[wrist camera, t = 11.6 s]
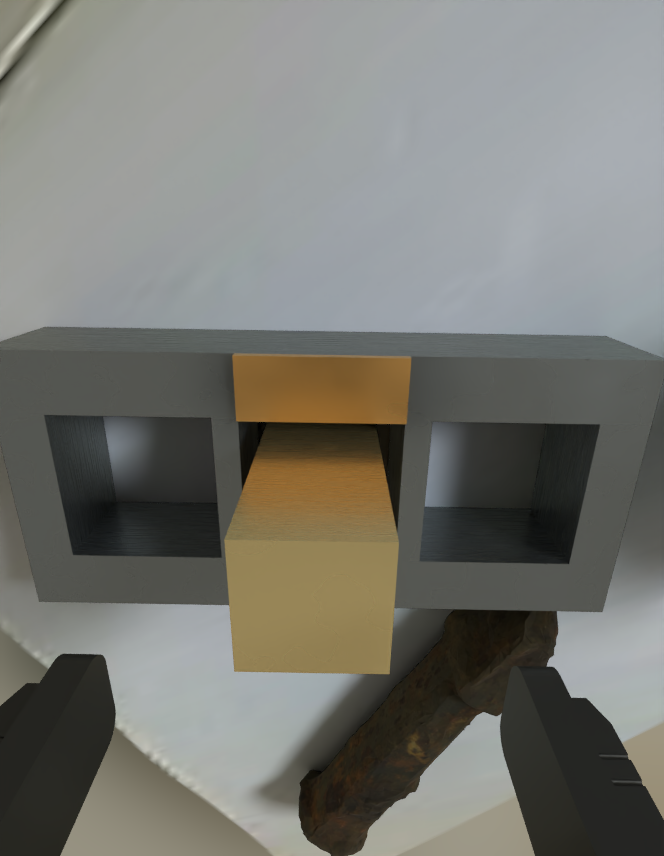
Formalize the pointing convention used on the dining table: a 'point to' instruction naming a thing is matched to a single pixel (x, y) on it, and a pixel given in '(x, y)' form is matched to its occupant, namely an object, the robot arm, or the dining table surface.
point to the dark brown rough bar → (421, 721)
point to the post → (313, 553)
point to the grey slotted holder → (326, 403)
